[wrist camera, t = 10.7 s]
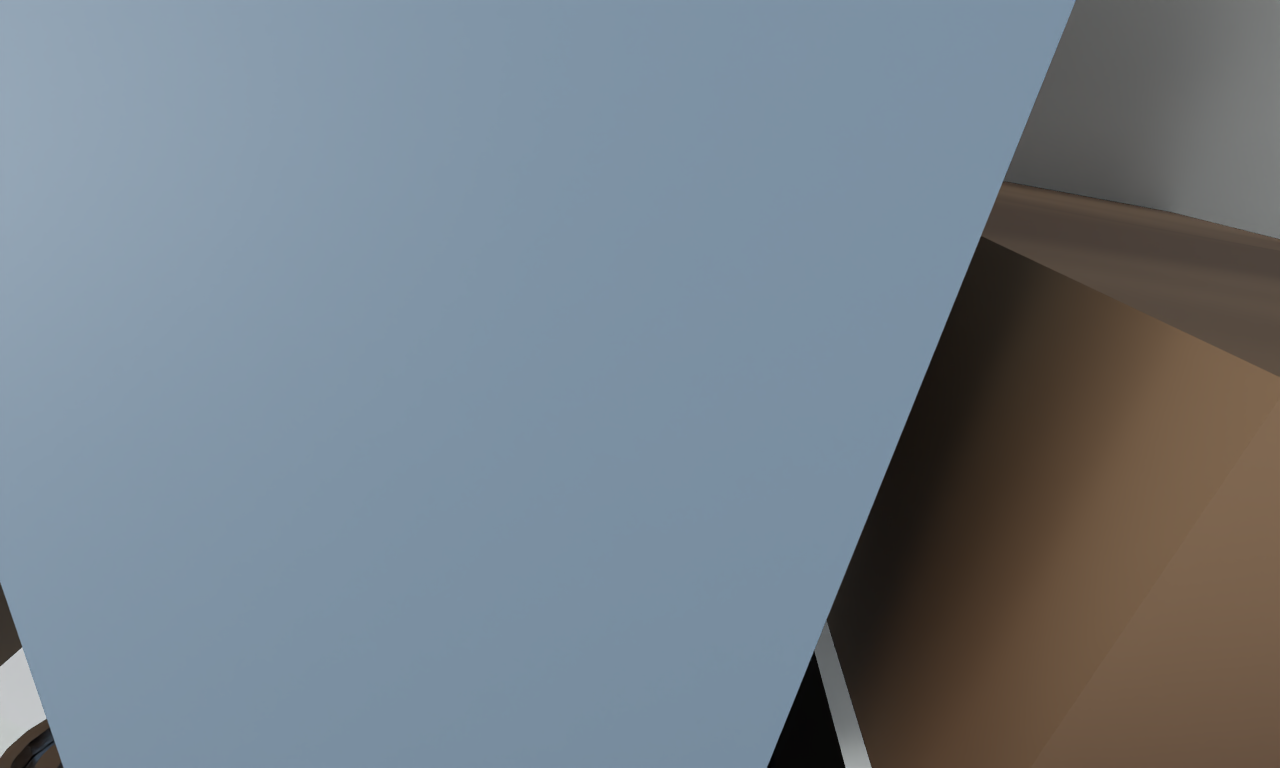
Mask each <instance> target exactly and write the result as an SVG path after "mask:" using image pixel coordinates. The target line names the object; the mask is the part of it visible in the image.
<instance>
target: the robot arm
mask: <svg viewBox="0 0 1280 768" xmlns="http://www.w3.org/2000/svg"><path fill="white" fill-rule="evenodd" d="M0 768H64V767H63V765H62V762H61V759H60V756H59V753H58V750H57V747H56V744H55V741H54V738H53V735H52V732H51V729H50V726H49V723H48V721H47V719H46V720H44V721H43V722H41V723H39V724H38V725H36V726H35V727H33V728H31V729H30V730H28V731H27V732H26V733H25V734H23V735H22V736H21V737H20V738H19V739H18V740H17V741H16V742H14V743H13V744H12V745H11V746H10V747H9V748H8V749H7V750H6V751H5V753H4V754H3V755H2V757H1V758H0ZM767 768H845V764H844V760H843V757H842V753H841V749H840V746H839V742H838V738H837V734H836V731H835V727H834V723H833V719H832V716H831V712H830V708H829V704H828V701H827V697H826V693H825V689H824V686H823V682H822V678H821V675H820V671H819V667H818V663H817V660H816V656H815V652H813V654H812V657H811V659H810V662H809V664H808V667H807V669H806V672H805V674H804V677H803V679H802V682H801V684H800V687H799V689H798V692H797V694H796V697H795V699H794V702H793V704H792V707H791V709H790V712H789V714H788V716H787V719H786V721H785V724H784V726H783V729H782V731H781V734H780V736H779V739H778V741H777V744H776V746H775V749H774V751H773V754H772V756H771V759H770V761H769V764H768V766H767Z"/></svg>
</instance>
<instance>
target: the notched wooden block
mask: <svg viewBox="0 0 1280 768" xmlns="http://www.w3.org/2000/svg"><path fill="white" fill-rule="evenodd" d="M827 623H828V626H829V629H830V633H831V636H832V639H833V642H834V646H835V649H836V652H837V656H838V659H839V662H840V665H841V669H842V672H843V675H844V678H845V682H846V685H847V688H848V691H849V695H850V698H851V701H852V705H853V708H854V711H855V714H856V718H857V721H858V724H859V727H860V731H861V734H862V737H863V740H864V744H865V747H866V750H867V754H868V757H869V760H870V763H871V767H872V768H1280V239H1276V238H1272V237H1268V236H1264V235H1260V234H1256V233H1252V232H1248V231H1244V230H1240V229H1236V228H1232V227H1228V226H1224V225H1220V224H1216V223H1212V222H1208V221H1204V220H1200V219H1196V218H1192V217H1188V216H1184V215H1180V214H1176V213H1172V212H1167V211H1162V210H1156V209H1151V208H1145V207H1140V206H1134V205H1129V204H1124V203H1118V202H1113V201H1107V200H1102V199H1096V198H1091V197H1086V196H1080V195H1075V194H1069V193H1064V192H1058V191H1053V190H1048V189H1042V188H1037V187H1031V186H1026V185H1020V184H1015V183H1010V182H1004V181H1003V182H1002V185H1001V187H1000V190H999V192H998V195H997V197H996V200H995V202H994V205H993V207H992V210H991V212H990V215H989V217H988V220H987V222H986V225H985V227H984V230H983V232H982V235H981V237H980V240H979V242H978V244H977V247H976V249H975V252H974V254H973V257H972V259H971V262H970V264H969V267H968V269H967V272H966V274H965V277H964V279H963V282H962V284H961V287H960V289H959V292H958V294H957V297H956V299H955V302H954V304H953V307H952V309H951V312H950V314H949V317H948V319H947V321H946V324H945V326H944V329H943V331H942V334H941V336H940V339H939V341H938V344H937V346H936V349H935V351H934V354H933V356H932V359H931V361H930V364H929V366H928V369H927V371H926V374H925V376H924V379H923V381H922V384H921V386H920V389H919V391H918V394H917V396H916V398H915V401H914V403H913V406H912V408H911V411H910V413H909V416H908V418H907V421H906V423H905V426H904V428H903V431H902V433H901V436H900V438H899V441H898V443H897V446H896V448H895V451H894V453H893V456H892V458H891V461H890V463H889V466H888V468H887V471H886V473H885V476H884V478H883V480H882V483H881V485H880V488H879V490H878V493H877V495H876V498H875V500H874V503H873V505H872V508H871V510H870V513H869V515H868V518H867V520H866V523H865V525H864V528H863V530H862V533H861V535H860V538H859V540H858V543H857V545H856V548H855V550H854V553H853V555H852V557H851V560H850V562H849V565H848V567H847V570H846V572H845V575H844V577H843V580H842V582H841V585H840V587H839V590H838V592H837V595H836V597H835V600H834V602H833V605H832V607H831V610H830V612H829V615H828V617H827ZM21 648H22V644H21V641H20V639H19V636H18V633H17V630H16V627H15V624H14V621H13V618H12V615H11V612H10V609H9V606H8V603H7V600H6V597H5V595H4V592H3V589H2V586H1V583H0V666H1V665H2V664H4V663H5V662H6V661H7V660H8V659H9V658H10V657H12V656H13V655H14V654H15V653H16V652H17V651H18V650H19V649H21Z"/></svg>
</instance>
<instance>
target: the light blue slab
mask: <svg viewBox="0 0 1280 768" xmlns="http://www.w3.org/2000/svg"><path fill="white" fill-rule="evenodd" d="M1075 1H1076V0H0V583H1V586H2V589H3V592H4V595H5V597H6V600H7V603H8V606H9V609H10V612H11V615H12V618H13V621H14V624H15V627H16V630H17V633H18V636H19V639H20V641H21V644H22V647H23V650H24V653H25V656H26V659H27V662H28V665H29V668H30V671H31V674H32V677H33V680H34V682H35V685H36V688H37V691H38V694H39V697H40V700H41V703H42V706H43V709H44V712H45V715H46V718H47V721H48V723H49V726H50V729H51V732H52V735H53V738H54V741H55V744H56V747H57V750H58V753H59V756H60V759H61V762H62V765H63V767H64V768H767V766H768V764H769V761H770V759H771V756H772V754H773V751H774V749H775V746H776V744H777V741H778V739H779V736H780V734H781V731H782V729H783V726H784V724H785V721H786V719H787V716H788V714H789V712H790V709H791V707H792V704H793V702H794V699H795V697H796V694H797V692H798V689H799V687H800V684H801V682H802V679H803V677H804V674H805V672H806V669H807V667H808V664H809V662H810V659H811V657H812V654H813V652H814V649H815V647H816V644H817V642H818V639H819V637H820V635H821V632H822V630H823V627H824V625H825V622H826V620H827V617H828V615H829V612H830V610H831V607H832V605H833V602H834V600H835V597H836V595H837V592H838V590H839V587H840V585H841V582H842V580H843V577H844V575H845V572H846V570H847V567H848V565H849V562H850V560H851V557H852V555H853V553H854V550H855V548H856V545H857V543H858V540H859V538H860V535H861V533H862V530H863V528H864V525H865V523H866V520H867V518H868V515H869V513H870V510H871V508H872V505H873V503H874V500H875V498H876V495H877V493H878V490H879V488H880V485H881V483H882V480H883V478H884V476H885V473H886V471H887V468H888V466H889V463H890V461H891V458H892V456H893V453H894V451H895V448H896V446H897V443H898V441H899V438H900V436H901V433H902V431H903V428H904V426H905V423H906V421H907V418H908V416H909V413H910V411H911V408H912V406H913V403H914V401H915V398H916V396H917V394H918V391H919V389H920V386H921V384H922V381H923V379H924V376H925V374H926V371H927V369H928V366H929V364H930V361H931V359H932V356H933V354H934V351H935V349H936V346H937V344H938V341H939V339H940V336H941V334H942V331H943V329H944V326H945V324H946V321H947V319H948V317H949V314H950V312H951V309H952V307H953V304H954V302H955V299H956V297H957V294H958V292H959V289H960V287H961V284H962V282H963V279H964V277H965V274H966V272H967V269H968V267H969V264H970V262H971V259H972V257H973V254H974V252H975V249H976V247H977V244H978V242H979V240H980V237H981V235H982V232H983V230H984V227H985V225H986V222H987V220H988V217H989V215H990V212H991V210H992V207H993V205H994V202H995V200H996V197H997V195H998V192H999V190H1000V187H1001V185H1002V182H1003V180H1004V177H1005V175H1006V172H1007V170H1008V167H1009V165H1010V162H1011V160H1012V158H1013V155H1014V153H1015V150H1016V148H1017V145H1018V143H1019V140H1020V138H1021V135H1022V133H1023V130H1024V128H1025V125H1026V123H1027V120H1028V118H1029V115H1030V113H1031V110H1032V108H1033V105H1034V103H1035V100H1036V98H1037V95H1038V93H1039V90H1040V88H1041V85H1042V83H1043V81H1044V78H1045V76H1046V73H1047V71H1048V68H1049V66H1050V63H1051V61H1052V58H1053V56H1054V53H1055V51H1056V48H1057V46H1058V43H1059V41H1060V38H1061V36H1062V33H1063V31H1064V28H1065V26H1066V23H1067V21H1068V18H1069V16H1070V13H1071V11H1072V8H1073V6H1074V3H1075Z"/></svg>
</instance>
